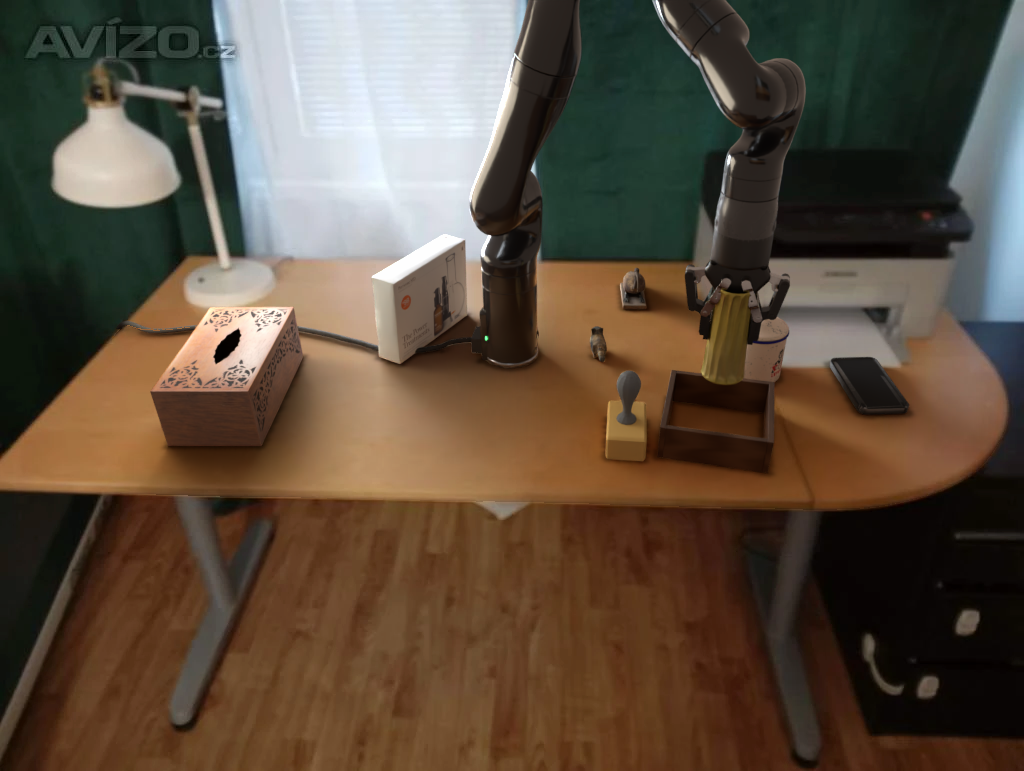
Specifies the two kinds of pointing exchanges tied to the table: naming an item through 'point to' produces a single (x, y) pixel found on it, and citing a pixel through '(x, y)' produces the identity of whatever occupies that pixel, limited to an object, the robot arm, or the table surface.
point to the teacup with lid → (767, 351)
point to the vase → (727, 340)
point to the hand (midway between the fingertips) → (727, 338)
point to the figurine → (633, 290)
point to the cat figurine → (598, 343)
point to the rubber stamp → (626, 421)
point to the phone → (868, 386)
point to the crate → (717, 444)
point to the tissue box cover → (229, 377)
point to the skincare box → (420, 297)
